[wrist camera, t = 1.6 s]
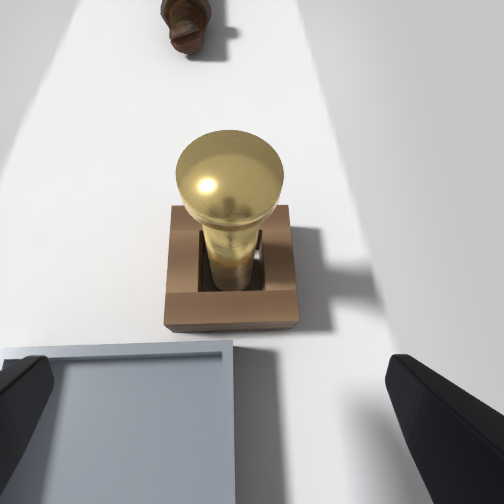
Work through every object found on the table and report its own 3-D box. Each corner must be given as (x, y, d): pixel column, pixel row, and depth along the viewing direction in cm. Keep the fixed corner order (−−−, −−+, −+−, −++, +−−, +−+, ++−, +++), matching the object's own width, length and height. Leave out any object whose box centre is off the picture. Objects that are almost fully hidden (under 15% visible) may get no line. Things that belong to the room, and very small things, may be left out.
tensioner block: (290, 328, 21) (299, 320, 18) (172, 332, 21) (163, 324, 18) (281, 225, 24) (288, 204, 22) (179, 226, 24) (171, 205, 21)
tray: (237, 670, 15) (238, 736, 12) (-51, 700, 14) (-121, 780, 11) (232, 345, 21) (232, 340, 18) (28, 352, 20) (-5, 348, 17)
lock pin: (260, 300, 22) (288, 218, 11) (203, 302, 22) (172, 219, 11) (257, 248, 23) (279, 130, 12) (204, 249, 23) (178, 129, 12)
